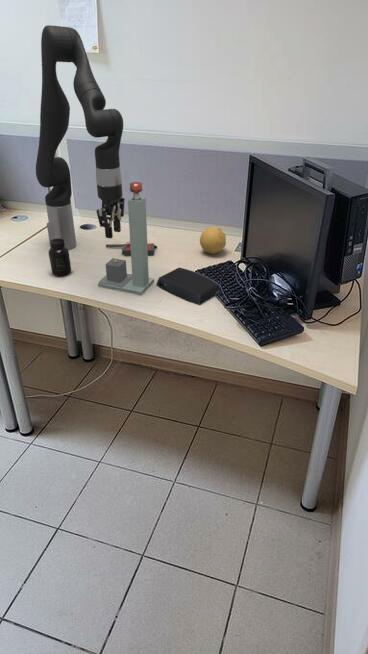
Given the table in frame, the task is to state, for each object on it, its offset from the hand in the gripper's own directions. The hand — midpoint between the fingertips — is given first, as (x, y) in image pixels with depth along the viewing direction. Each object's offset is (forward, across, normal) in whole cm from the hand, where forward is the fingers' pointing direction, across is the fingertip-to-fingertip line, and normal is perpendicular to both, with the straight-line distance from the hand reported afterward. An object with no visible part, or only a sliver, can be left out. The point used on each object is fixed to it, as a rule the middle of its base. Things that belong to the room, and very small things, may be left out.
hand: (113, 234), depth 152 cm
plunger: (-10, 0, +9) cm, 13 cm away
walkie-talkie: (+18, -24, -7) cm, 31 cm away
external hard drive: (+18, -5, +24) cm, 31 cm away
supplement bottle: (+18, +1, -22) cm, 28 cm away
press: (+17, 0, +2) cm, 18 cm away
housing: (+16, 0, 0) cm, 16 cm away
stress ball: (+18, -35, +22) cm, 45 cm away
